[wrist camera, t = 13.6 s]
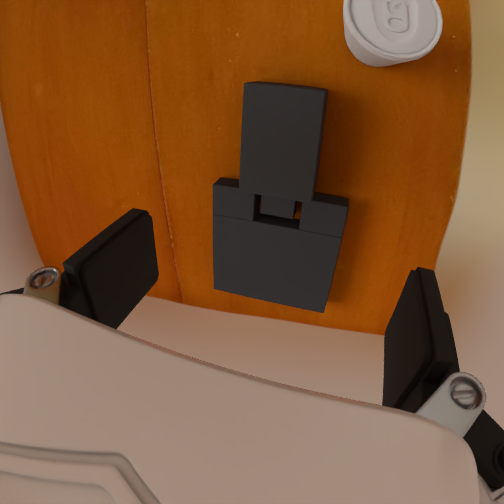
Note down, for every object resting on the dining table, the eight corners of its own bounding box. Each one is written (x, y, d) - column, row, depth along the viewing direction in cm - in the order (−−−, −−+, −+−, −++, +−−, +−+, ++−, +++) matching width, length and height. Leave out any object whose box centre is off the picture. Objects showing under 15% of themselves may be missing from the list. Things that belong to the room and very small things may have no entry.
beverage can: (402, 16, 18) (441, -23, 8) (404, 70, 20) (447, 69, 11) (343, 10, 19) (338, -36, 9) (345, 64, 22) (345, 55, 12)
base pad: (348, 198, 28) (348, 207, 26) (325, 301, 34) (323, 313, 33) (220, 177, 30) (212, 184, 29) (220, 278, 37) (213, 288, 35)
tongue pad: (327, 89, 23) (325, 91, 20) (311, 214, 30) (306, 232, 27) (256, 81, 24) (243, 82, 22) (249, 203, 31) (237, 219, 28)
